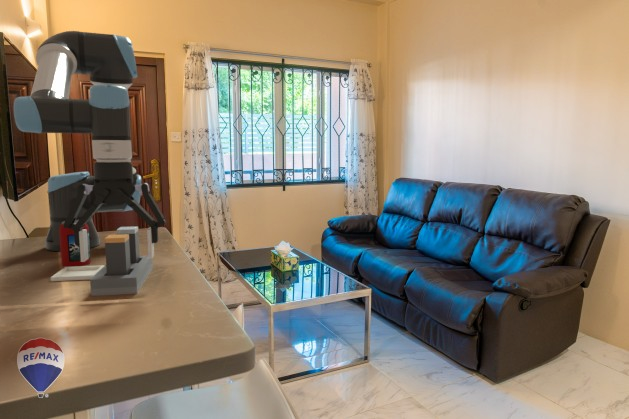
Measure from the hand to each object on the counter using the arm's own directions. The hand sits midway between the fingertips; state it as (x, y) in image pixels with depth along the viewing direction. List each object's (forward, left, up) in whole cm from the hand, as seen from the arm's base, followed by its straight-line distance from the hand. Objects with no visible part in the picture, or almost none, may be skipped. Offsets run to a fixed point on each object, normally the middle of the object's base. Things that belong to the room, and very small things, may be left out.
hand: (118, 259), depth 96 cm
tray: (-12, -12, -7) cm, 18 cm away
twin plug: (-10, 0, -5) cm, 11 cm away
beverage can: (-23, -16, -7) cm, 29 cm away
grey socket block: (-5, 0, -7) cm, 9 cm away
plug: (0, 0, -5) cm, 5 cm away
